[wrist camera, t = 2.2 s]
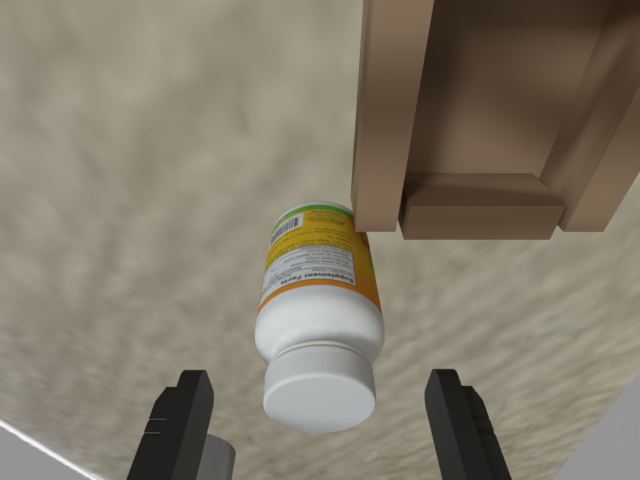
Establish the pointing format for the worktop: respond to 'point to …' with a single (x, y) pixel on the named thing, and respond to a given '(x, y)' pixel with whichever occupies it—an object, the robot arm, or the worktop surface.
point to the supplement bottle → (319, 321)
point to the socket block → (495, 117)
